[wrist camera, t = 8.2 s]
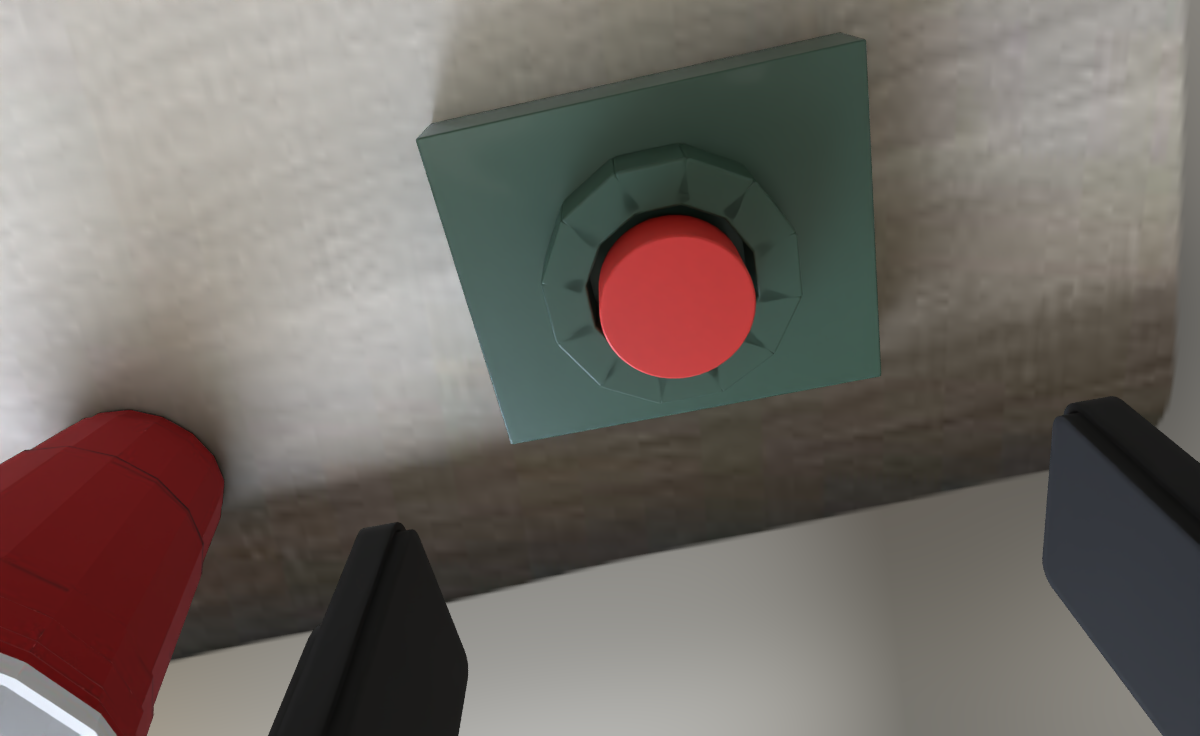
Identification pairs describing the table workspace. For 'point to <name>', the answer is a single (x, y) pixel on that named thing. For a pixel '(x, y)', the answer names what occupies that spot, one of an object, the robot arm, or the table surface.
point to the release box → (657, 188)
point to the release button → (675, 297)
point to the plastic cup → (99, 571)
